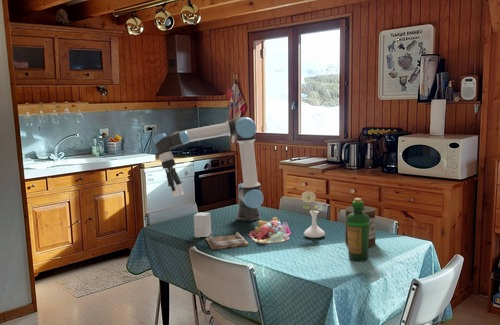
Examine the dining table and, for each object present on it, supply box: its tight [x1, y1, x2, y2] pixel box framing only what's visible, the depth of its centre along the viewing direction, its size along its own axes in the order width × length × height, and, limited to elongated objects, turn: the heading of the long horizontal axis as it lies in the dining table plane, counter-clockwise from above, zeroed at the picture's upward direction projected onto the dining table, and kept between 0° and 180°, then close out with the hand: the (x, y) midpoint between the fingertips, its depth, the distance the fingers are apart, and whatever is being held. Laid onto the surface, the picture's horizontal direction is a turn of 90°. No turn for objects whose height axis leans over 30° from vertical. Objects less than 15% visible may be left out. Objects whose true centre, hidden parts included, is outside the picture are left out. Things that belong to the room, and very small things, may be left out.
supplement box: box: [192, 211, 212, 238], centre depth 262 cm, size 7×7×13 cm
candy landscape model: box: [247, 216, 292, 244], centre depth 257 cm, size 25×24×9 cm
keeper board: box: [205, 231, 250, 251], centre depth 248 cm, size 19×18×3 cm
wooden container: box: [344, 202, 376, 248], centre depth 237 cm, size 15×15×22 cm
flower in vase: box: [300, 190, 326, 239], centre depth 253 cm, size 13×11×25 cm
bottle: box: [345, 197, 370, 262], centre depth 215 cm, size 11×11×28 cm
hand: (179, 195), depth 268 cm, fingers open, 13 cm apart
